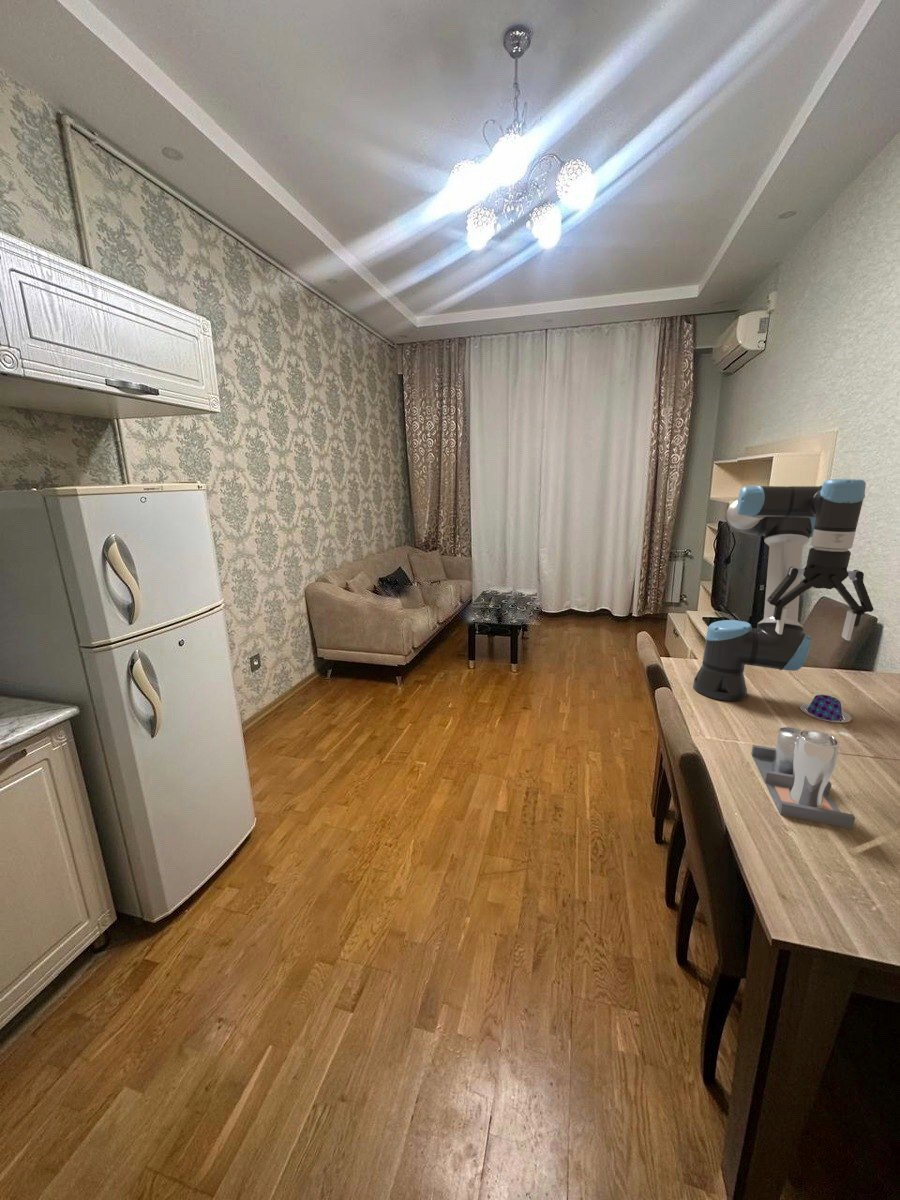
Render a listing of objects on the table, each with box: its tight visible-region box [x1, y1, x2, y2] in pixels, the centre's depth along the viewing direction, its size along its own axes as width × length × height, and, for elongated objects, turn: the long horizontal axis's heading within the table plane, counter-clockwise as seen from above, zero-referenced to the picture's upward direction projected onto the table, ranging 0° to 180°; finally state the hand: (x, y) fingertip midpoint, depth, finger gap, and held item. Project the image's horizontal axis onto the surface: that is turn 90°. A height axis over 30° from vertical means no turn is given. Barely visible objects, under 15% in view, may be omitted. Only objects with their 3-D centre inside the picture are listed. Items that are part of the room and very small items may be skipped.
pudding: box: [799, 694, 852, 723], centre depth 137 cm, size 12×12×5 cm
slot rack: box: [750, 744, 856, 830], centre depth 103 cm, size 23×12×3 cm, turn 161°
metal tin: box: [772, 726, 802, 775], centre depth 107 cm, size 6×6×10 cm
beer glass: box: [787, 729, 840, 808], centre depth 96 cm, size 7×7×15 cm
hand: (811, 635), depth 113 cm, fingers open, 13 cm apart
